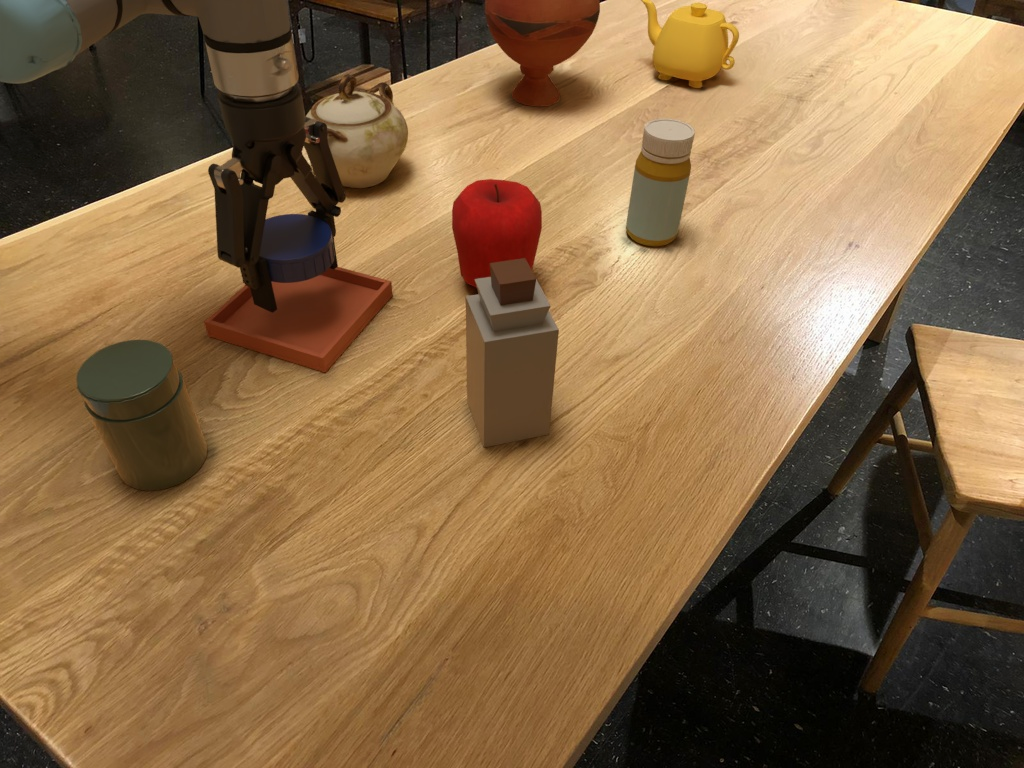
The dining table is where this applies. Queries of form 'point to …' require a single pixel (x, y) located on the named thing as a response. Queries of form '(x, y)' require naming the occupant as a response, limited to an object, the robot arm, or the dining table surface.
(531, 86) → the goblet
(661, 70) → the teapot
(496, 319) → the perfume bottle
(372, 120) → the sugar bowl
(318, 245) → the lid
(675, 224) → the bottle
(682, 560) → the dining table surface
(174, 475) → the jar
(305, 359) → the tray
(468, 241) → the apple
